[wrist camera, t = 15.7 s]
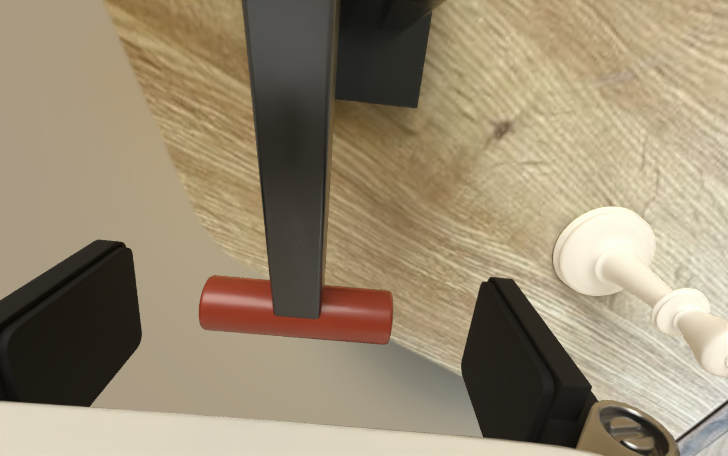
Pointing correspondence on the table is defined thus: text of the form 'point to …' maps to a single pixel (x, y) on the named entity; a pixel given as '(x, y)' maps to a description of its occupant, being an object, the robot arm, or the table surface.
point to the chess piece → (638, 279)
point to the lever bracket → (382, 50)
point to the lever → (294, 186)
